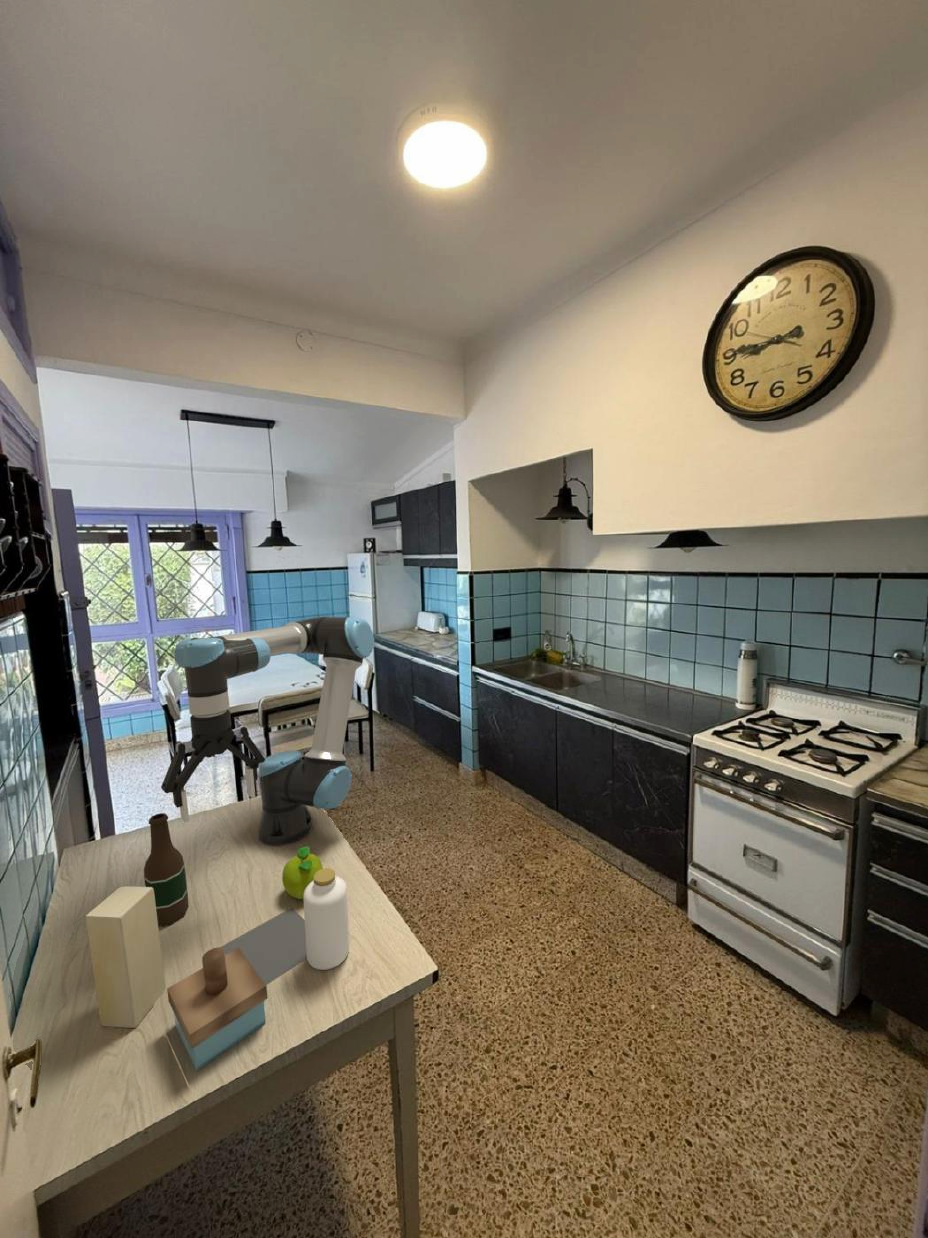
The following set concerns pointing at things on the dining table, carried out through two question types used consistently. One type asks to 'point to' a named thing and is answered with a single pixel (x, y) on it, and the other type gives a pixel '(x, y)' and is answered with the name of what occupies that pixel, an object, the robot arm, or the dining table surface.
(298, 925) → the mat
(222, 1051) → the dish
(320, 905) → the potion bottle
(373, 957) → the dining table surface
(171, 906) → the beer bottle
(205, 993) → the lid cover
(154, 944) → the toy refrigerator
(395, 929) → the dining table surface
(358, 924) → the dining table surface
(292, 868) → the fruit
